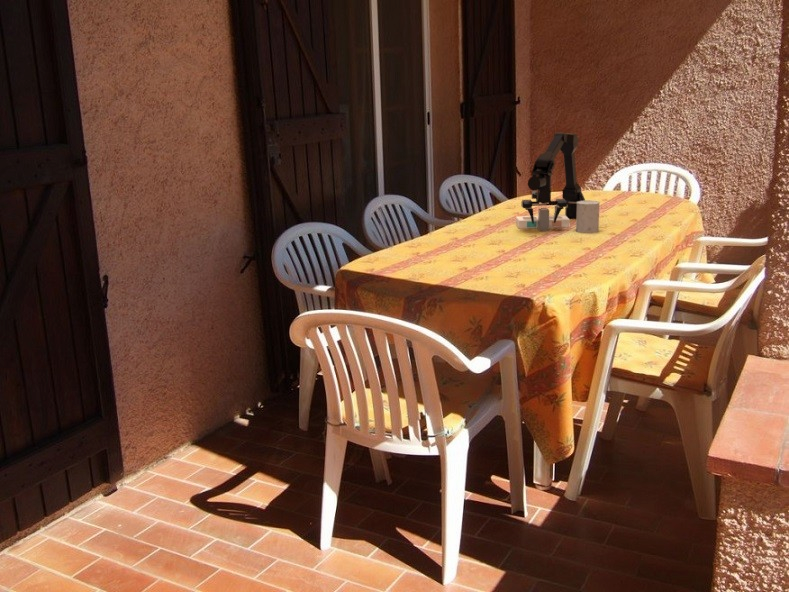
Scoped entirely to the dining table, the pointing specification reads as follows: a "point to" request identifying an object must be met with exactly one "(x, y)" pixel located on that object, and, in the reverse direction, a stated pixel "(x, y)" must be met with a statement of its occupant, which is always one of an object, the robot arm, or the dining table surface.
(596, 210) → the stone cylinder
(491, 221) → the dining table surface
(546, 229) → the plug
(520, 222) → the socket strip
